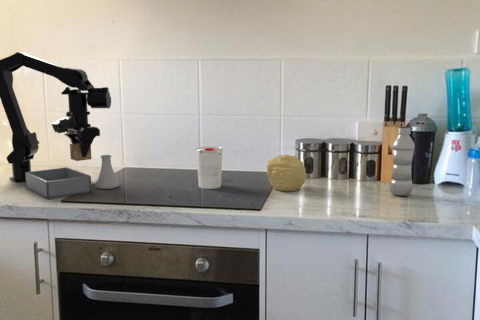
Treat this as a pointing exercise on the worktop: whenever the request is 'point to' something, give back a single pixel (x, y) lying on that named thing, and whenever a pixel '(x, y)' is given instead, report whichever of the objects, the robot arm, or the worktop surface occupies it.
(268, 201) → the worktop surface
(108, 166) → the flask
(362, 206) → the worktop surface
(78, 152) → the walnut cube
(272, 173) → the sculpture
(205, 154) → the white bucket
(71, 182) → the tote
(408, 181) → the plastic bottle
